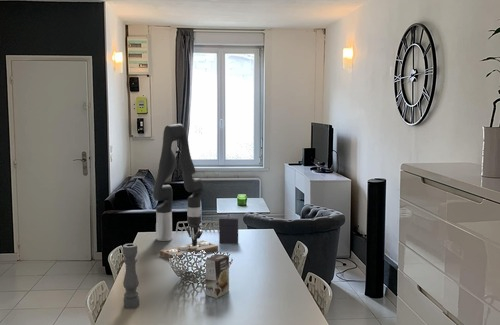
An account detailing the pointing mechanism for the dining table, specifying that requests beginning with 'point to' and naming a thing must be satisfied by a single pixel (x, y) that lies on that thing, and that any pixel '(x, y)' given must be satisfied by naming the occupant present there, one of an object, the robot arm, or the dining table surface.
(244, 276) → the dining table surface
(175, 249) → the button two dots
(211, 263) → the coffee box
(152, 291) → the dining table surface
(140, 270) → the dining table surface
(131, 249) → the candle holder
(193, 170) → the robot arm
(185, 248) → the button blank
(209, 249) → the brown flat block
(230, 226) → the dark brown box
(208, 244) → the button one dot
